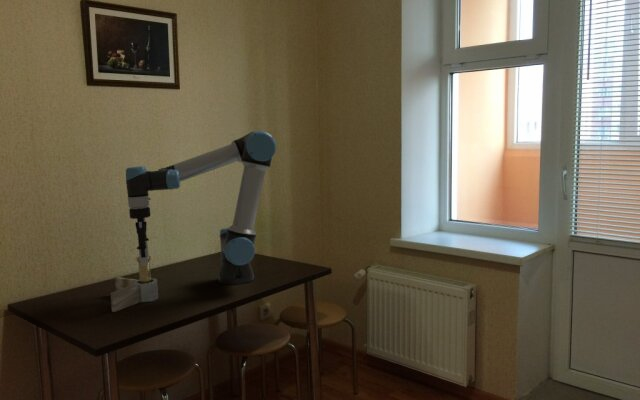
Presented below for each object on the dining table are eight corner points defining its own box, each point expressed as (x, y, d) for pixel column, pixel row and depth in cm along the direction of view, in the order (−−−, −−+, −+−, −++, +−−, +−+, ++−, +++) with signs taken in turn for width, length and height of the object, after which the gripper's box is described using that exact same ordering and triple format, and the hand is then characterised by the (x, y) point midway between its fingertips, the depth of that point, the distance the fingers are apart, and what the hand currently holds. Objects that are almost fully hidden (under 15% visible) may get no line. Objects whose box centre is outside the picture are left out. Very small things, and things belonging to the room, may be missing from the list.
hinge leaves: (149, 298, 204) (147, 281, 203) (114, 312, 189) (112, 293, 188) (118, 293, 212) (117, 277, 211) (83, 306, 197) (81, 288, 196)
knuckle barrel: (162, 296, 206) (161, 279, 205) (146, 303, 198) (145, 285, 197) (147, 294, 209) (145, 277, 209) (130, 300, 202) (129, 283, 201)
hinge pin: (156, 297, 205) (153, 256, 203) (146, 301, 200) (143, 259, 198) (147, 296, 207) (143, 255, 205) (136, 299, 203) (133, 258, 201)
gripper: (149, 210, 189) (154, 267, 191) (150, 202, 212) (154, 253, 215) (127, 212, 186) (133, 270, 189) (130, 204, 210) (135, 256, 213)
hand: (144, 261), depth 202 cm, fingers open, 13 cm apart
